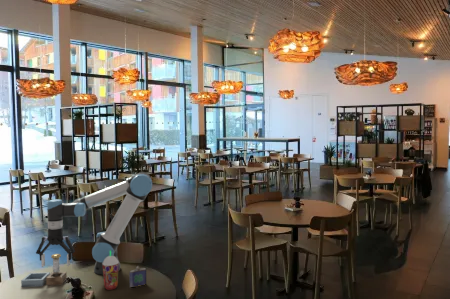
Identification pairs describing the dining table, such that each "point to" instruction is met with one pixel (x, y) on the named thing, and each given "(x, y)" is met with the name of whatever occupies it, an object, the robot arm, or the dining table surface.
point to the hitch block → (56, 279)
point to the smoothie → (110, 272)
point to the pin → (56, 264)
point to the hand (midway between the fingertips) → (55, 265)
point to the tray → (34, 279)
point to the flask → (137, 277)
